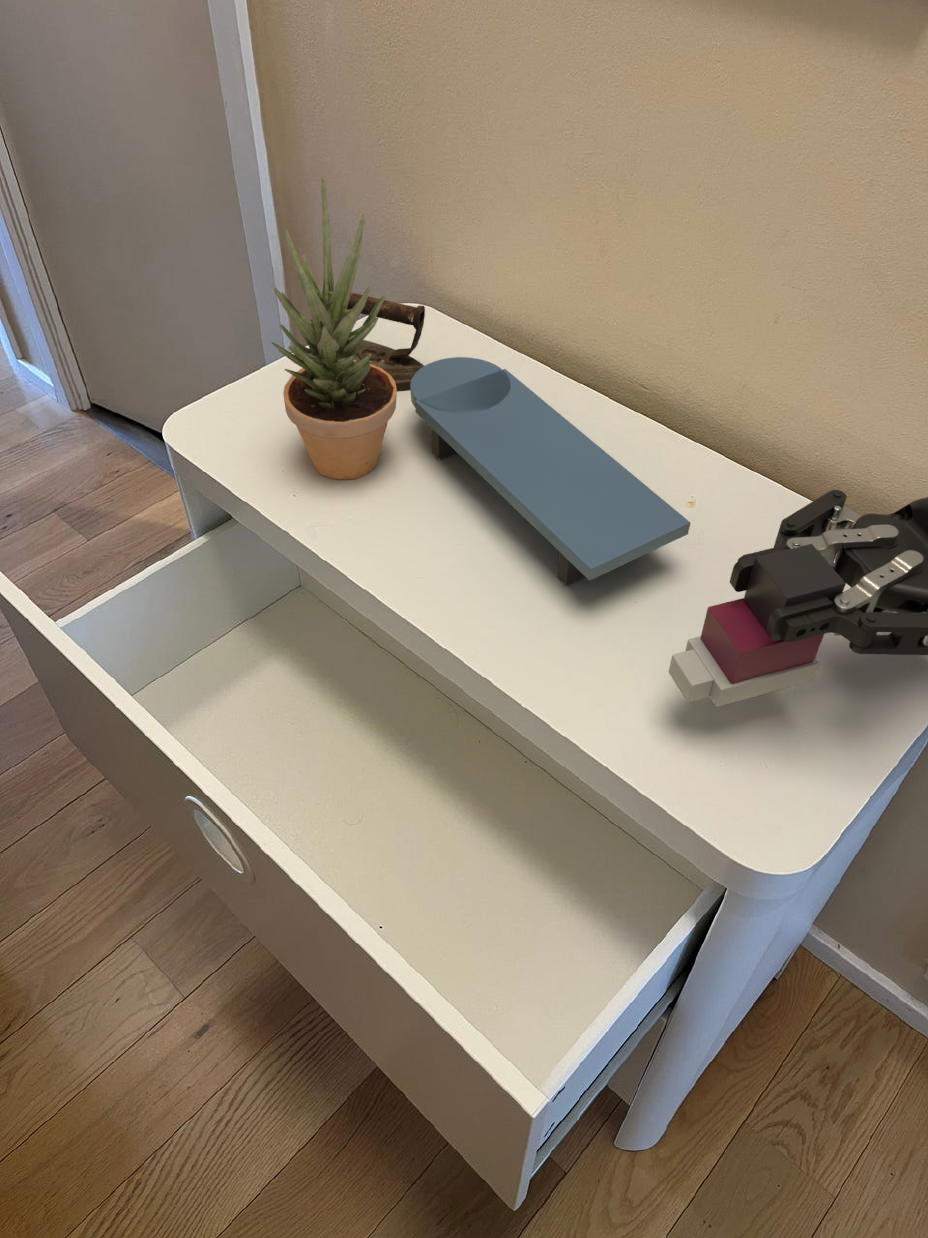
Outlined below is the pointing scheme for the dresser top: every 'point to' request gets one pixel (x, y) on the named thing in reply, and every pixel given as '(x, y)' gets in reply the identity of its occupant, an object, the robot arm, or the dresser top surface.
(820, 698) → the dresser top surface
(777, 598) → the stacked block tower
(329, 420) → the potted plant
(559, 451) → the ironing board
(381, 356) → the clothes iron
